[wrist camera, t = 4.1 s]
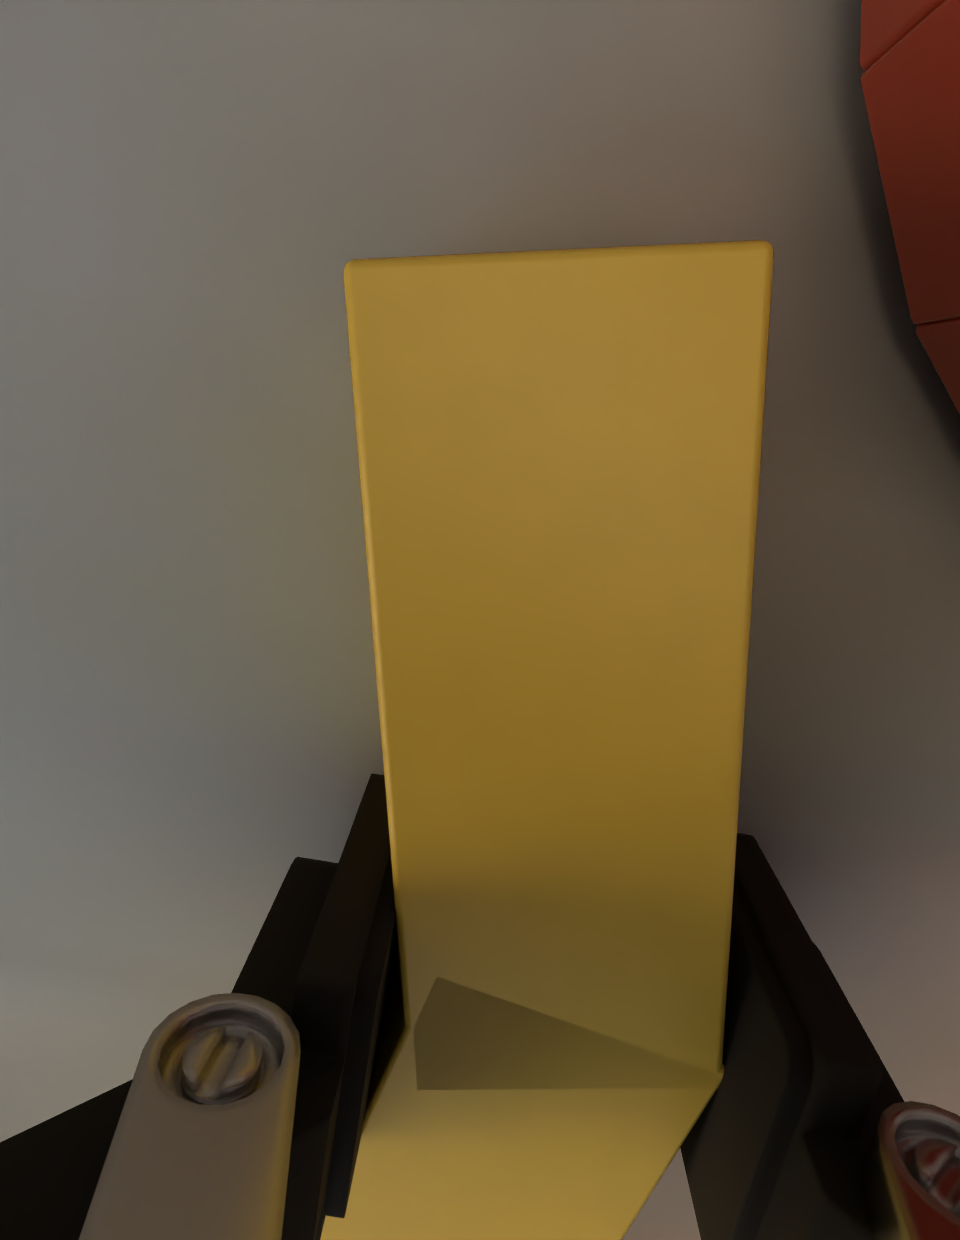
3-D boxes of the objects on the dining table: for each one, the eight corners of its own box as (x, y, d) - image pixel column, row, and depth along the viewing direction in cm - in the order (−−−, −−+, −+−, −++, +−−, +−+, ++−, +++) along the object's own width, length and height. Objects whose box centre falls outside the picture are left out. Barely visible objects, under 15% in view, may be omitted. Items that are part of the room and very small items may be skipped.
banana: (274, 1235, 13) (206, 1484, 10) (404, 242, 9) (352, 161, 6) (556, 1278, 14) (572, 1538, 10) (827, 319, 9) (997, 279, 6)
